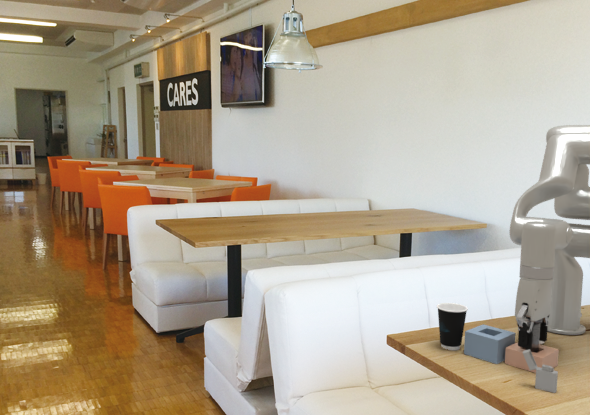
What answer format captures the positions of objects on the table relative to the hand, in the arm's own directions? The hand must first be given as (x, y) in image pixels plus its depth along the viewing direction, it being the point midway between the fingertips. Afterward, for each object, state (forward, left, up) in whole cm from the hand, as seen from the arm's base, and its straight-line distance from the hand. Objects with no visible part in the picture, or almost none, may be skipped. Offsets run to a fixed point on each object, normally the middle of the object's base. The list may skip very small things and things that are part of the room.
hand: (532, 343), depth 132 cm
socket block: (+2, -10, -5) cm, 12 cm away
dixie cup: (+5, -20, -6) cm, 21 cm away
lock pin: (0, 0, -5) cm, 5 cm away
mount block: (0, 0, -5) cm, 5 cm away
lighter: (+12, +7, -6) cm, 15 cm away
